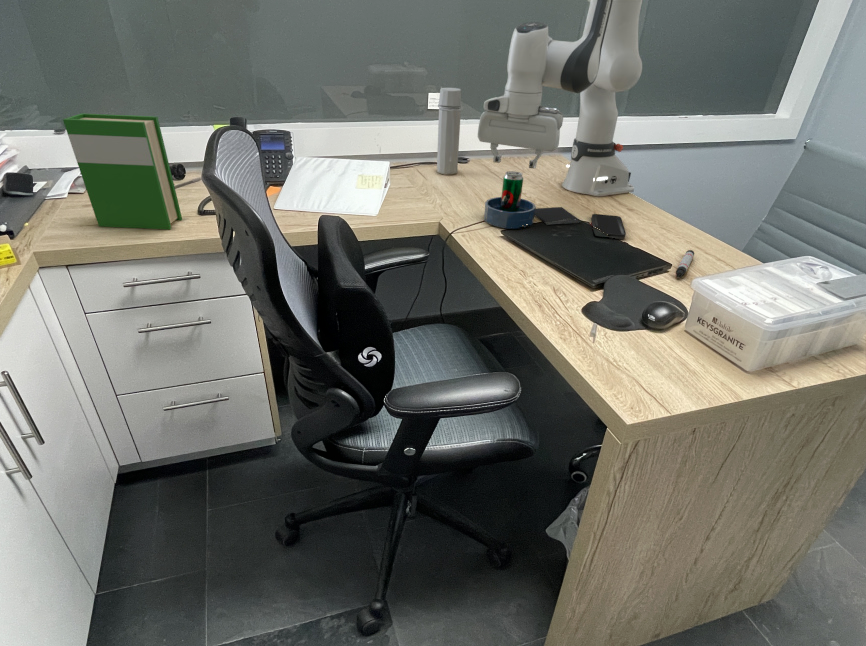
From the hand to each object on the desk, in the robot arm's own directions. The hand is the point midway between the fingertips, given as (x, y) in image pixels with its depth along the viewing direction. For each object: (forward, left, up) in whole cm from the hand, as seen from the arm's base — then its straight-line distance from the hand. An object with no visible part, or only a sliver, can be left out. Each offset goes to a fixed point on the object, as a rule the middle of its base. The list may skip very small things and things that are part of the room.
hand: (514, 165), depth 137 cm
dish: (0, 0, -14) cm, 14 cm away
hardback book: (+93, -15, -15) cm, 95 cm away
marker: (-28, +37, -15) cm, 49 cm away
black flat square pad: (-14, -1, -14) cm, 20 cm away
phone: (-24, +10, -14) cm, 30 cm away
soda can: (0, 0, -14) cm, 14 cm away
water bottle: (+3, -48, -15) cm, 50 cm away
